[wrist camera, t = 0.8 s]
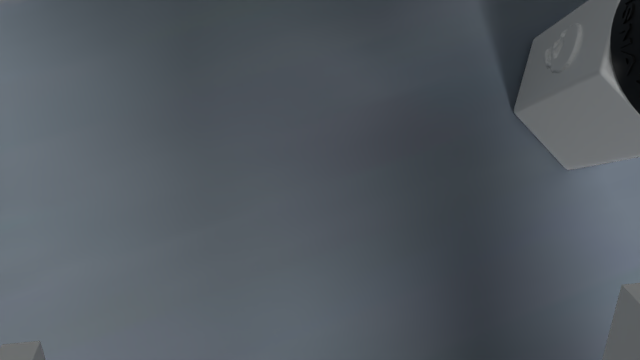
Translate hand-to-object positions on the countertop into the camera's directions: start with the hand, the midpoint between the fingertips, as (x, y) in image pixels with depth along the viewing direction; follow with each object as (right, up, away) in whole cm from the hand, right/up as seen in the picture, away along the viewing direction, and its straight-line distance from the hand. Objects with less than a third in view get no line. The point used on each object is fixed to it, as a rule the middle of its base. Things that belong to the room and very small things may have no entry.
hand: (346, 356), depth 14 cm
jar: (+15, +9, +21) cm, 27 cm away
